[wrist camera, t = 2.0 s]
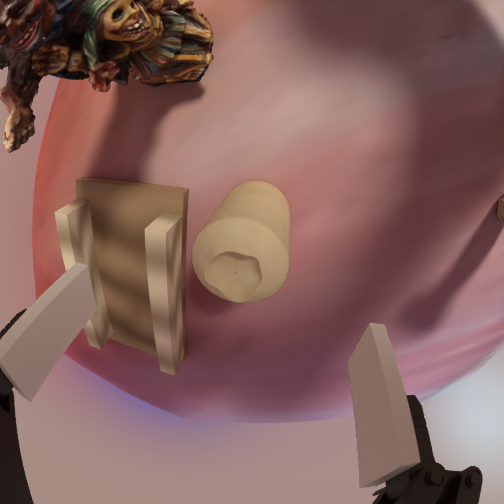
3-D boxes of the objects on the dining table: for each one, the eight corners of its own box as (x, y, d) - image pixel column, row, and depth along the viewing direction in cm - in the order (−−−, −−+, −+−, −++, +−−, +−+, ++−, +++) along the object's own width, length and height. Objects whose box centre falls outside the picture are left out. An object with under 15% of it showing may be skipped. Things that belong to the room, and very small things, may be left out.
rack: (82, 177, 23) (52, 191, 19) (188, 189, 22) (166, 207, 18) (109, 332, 34) (93, 354, 30) (186, 356, 33) (175, 384, 29)
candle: (290, 241, 23) (288, 320, 15) (227, 241, 24) (193, 316, 16) (289, 178, 21) (288, 228, 12) (221, 180, 22) (173, 230, 13)
